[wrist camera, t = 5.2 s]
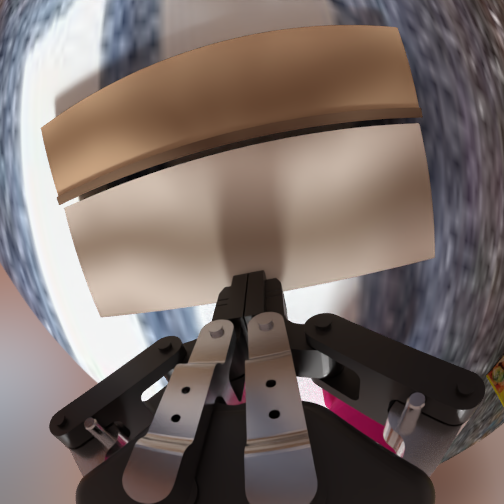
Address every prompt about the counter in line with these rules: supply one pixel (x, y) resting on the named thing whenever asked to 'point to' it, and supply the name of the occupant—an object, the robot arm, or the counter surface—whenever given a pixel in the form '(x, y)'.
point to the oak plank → (230, 100)
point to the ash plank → (258, 219)
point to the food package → (498, 379)
